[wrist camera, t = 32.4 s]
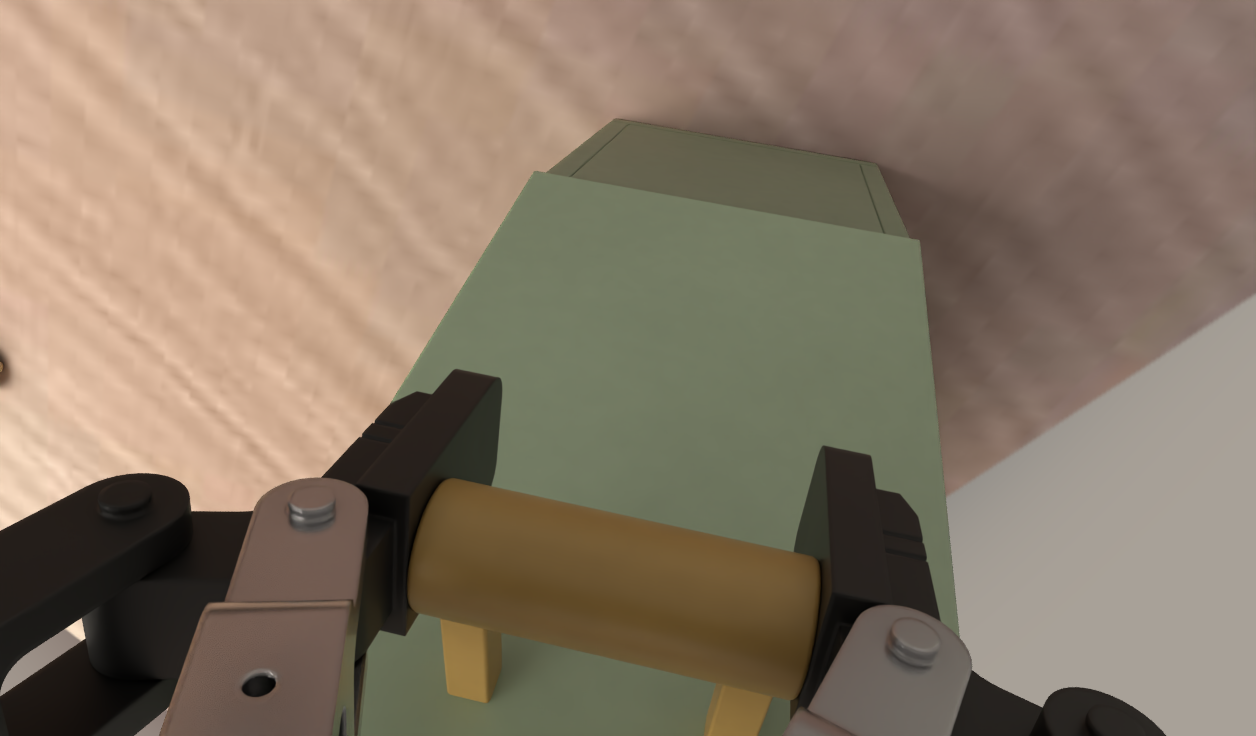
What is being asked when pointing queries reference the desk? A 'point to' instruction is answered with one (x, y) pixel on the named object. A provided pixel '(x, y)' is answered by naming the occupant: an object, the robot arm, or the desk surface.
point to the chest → (737, 175)
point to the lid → (654, 466)
